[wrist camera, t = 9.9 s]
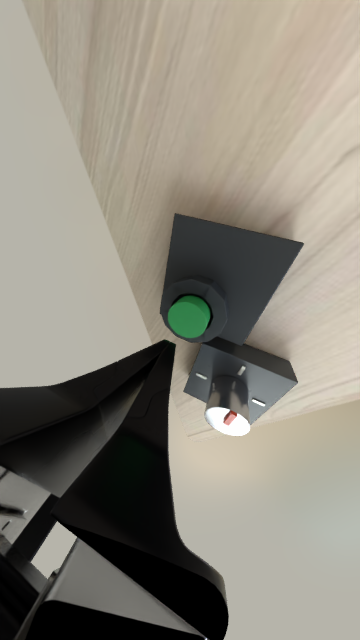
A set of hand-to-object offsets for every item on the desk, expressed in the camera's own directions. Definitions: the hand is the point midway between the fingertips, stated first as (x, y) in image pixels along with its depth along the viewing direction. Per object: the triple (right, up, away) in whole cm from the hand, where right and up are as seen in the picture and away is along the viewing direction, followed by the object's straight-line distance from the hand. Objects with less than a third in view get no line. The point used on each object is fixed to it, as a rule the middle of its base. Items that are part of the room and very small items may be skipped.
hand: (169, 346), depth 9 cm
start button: (+2, +2, +4) cm, 5 cm away
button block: (+5, +6, +6) cm, 9 cm away
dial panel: (+8, -5, +11) cm, 14 cm away
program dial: (+7, -7, +8) cm, 13 cm away
